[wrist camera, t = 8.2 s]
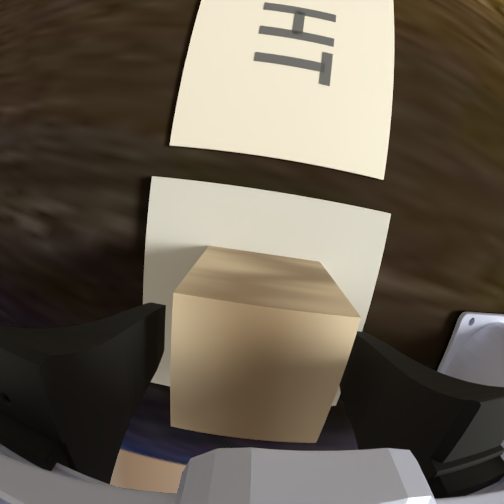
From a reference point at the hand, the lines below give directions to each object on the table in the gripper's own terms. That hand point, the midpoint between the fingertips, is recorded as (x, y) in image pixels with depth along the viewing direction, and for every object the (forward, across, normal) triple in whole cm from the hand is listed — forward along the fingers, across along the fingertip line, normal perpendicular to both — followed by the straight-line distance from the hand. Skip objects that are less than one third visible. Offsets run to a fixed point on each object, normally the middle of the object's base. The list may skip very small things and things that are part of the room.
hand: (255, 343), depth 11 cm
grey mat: (+4, 0, 0) cm, 4 cm away
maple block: (+3, 0, 0) cm, 3 cm away
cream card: (+4, 0, -13) cm, 14 cm away
